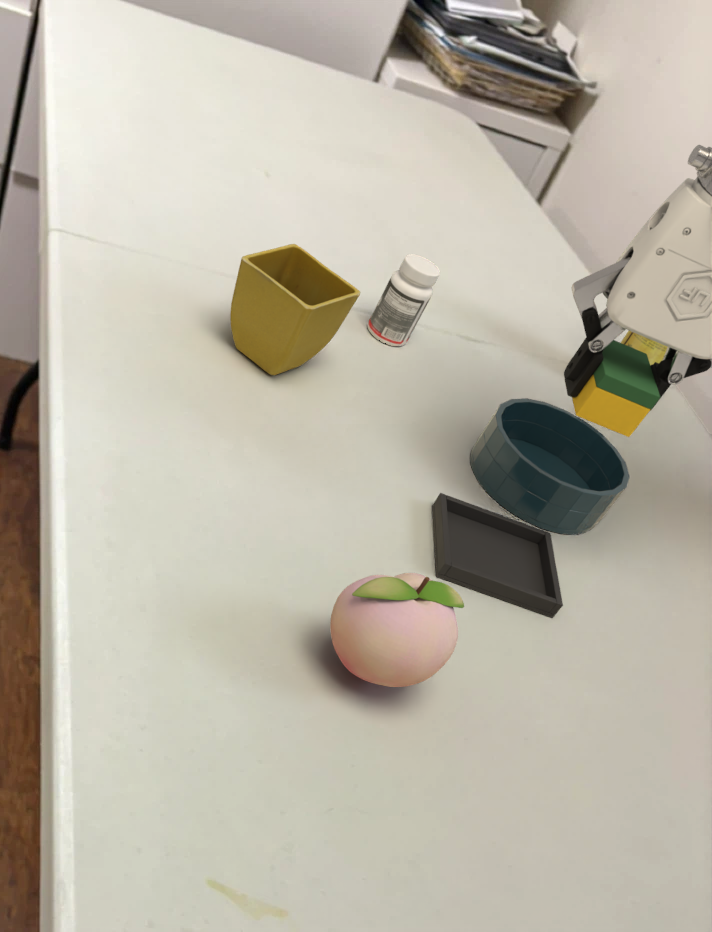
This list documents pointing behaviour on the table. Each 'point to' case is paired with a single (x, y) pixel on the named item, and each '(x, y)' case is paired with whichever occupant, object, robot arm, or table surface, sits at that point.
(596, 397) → the sponge
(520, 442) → the bowl
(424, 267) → the pill bottle
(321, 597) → the table surface
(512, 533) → the sponge tray
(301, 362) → the flower pot
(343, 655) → the decorative fruit
